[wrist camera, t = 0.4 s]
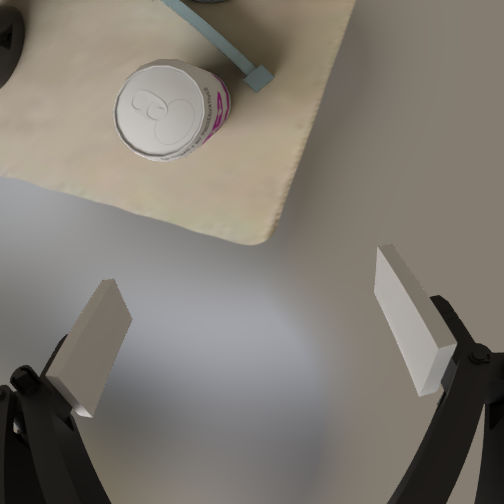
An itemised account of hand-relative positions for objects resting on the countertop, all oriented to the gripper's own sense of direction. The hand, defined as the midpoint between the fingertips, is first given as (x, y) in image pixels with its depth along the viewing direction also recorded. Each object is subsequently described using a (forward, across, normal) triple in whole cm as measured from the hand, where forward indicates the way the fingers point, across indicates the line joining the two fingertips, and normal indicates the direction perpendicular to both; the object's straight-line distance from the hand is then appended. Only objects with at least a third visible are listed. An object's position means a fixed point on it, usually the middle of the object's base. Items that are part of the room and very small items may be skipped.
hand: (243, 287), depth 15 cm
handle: (+25, -3, +17) cm, 30 cm away
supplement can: (+25, -5, +8) cm, 27 cm away
